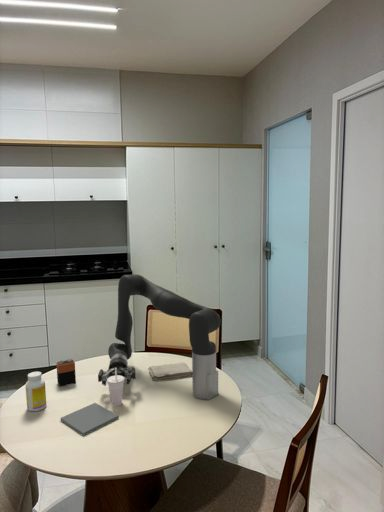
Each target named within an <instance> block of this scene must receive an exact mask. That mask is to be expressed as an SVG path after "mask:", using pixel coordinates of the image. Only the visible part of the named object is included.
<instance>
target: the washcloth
mask: <svg viewBox="0 0 384 512" xmlns="http://www.w3.org/2000/svg"><path fill="white" fill-rule="evenodd" d="M147 370H148V371H149V372H148V373H149V375H150V378H151V380H152V381H155V382H156V381H157V382H159V381H166V380H174V379H180V378H188V377H192V369H190V368H189V366H188V365H187V363H185V362H176V363H168V364H160V365H151V366H149V367H148V368H147Z"/></svg>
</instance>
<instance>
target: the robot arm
mask: <svg viewBox="0 0 384 512" xmlns="http://www.w3.org/2000/svg"><path fill="white" fill-rule="evenodd" d="M117 286H118V287H117V289H118V290H117V322H116V327H115V333H114V337H115V339H116V340H119V341H120V342H123V343H118V342H113V343H111V344H110V345H109V347H108V351H107V353H108V357H109V359H110V360H109V363H108V369H107V370H104V369H102V368H101V369H99V372H98V375H97V379H98V380H97V381H98V383H99V382H101V385H102V386H105V387H106V386H107V379H108V378H109V377H111V376H115V368H116V369H117V375H120V376H123V377H124V380H126V385H129V384H130V383H131V382H132V380H136V379H137V378H136V368H135V367H131V368H130V369H128V365H129V364H128V363H129V362H128V360H130V359H131V357H132V355H133V349H132V343H131V340H132V331H133V324H134V323H133V316H132V313H131V310H130V306H129V305H130V304H129V302H130V298H131V296H141V297H144V298H146V299H148V300H149V301H150V303H151V305H152V307H153V308H155V309H156V310H157V311H159V312H161V313H163V314H165V315H168V316H171V317H175V318H176V317H177V318H182V319H188V334H189V344H190V348H191V358H192V359H191V365H192V366H191V371H192V376H191V377H192V378H191V379H192V381H191V382H192V395H193V397H195V398H196V399H201V400H208V401H210V400H211V399H213V398H215V397H216V396H218V395H219V370H217V345H216V342H213V341H211V340H210V337H209V336H210V334H212V333H213V332H216V331H217V330H218V329H219V328H220V327H221V324H222V323H221V322H222V321H221V317H220V315H219V314H218V312H217V311H215V310H214V309H212V308H210V307H207V306H204V305H202V304H198V303H195V302H193V301H191V300H189V299H187V298H185V297H183V296H181V295H178V294H177V293H175V292H173V291H171V290H169V289H166V288H164V287H162V286H161V285H157V284H155V283H153V282H152V281H150V280H149V279H147V278H146V277H144V276H143V275H141V274H123V275H122V276H121V277H120V278H119V281H118V284H117Z"/></svg>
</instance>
